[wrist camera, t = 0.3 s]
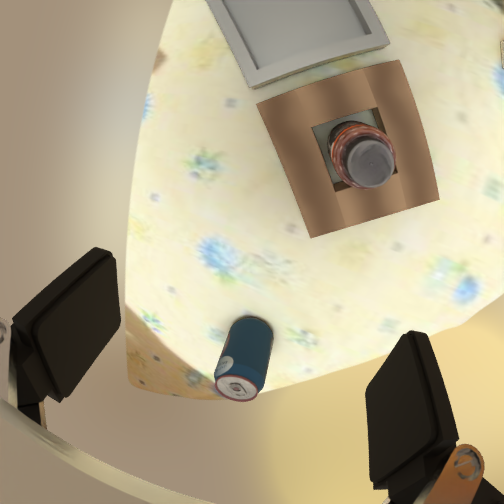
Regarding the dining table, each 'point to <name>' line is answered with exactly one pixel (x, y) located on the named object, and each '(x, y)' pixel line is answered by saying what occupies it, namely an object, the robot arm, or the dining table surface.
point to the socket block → (311, 159)
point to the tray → (295, 34)
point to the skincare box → (503, 51)
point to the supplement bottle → (361, 154)
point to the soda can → (244, 360)
